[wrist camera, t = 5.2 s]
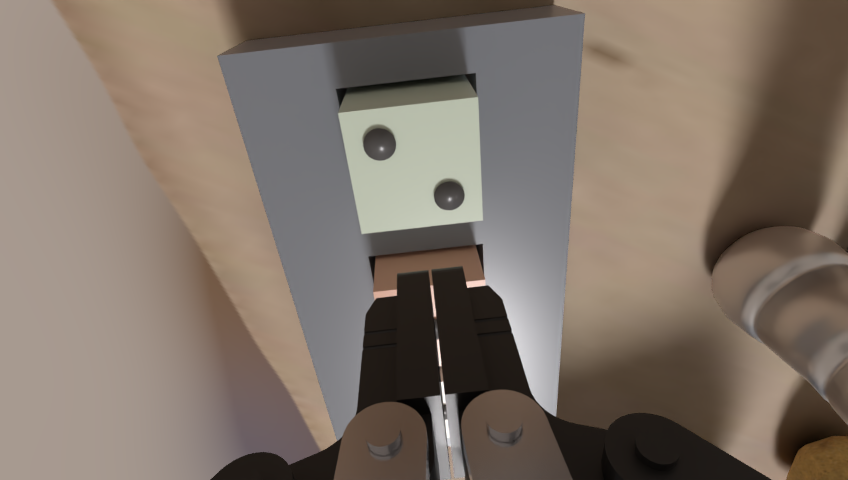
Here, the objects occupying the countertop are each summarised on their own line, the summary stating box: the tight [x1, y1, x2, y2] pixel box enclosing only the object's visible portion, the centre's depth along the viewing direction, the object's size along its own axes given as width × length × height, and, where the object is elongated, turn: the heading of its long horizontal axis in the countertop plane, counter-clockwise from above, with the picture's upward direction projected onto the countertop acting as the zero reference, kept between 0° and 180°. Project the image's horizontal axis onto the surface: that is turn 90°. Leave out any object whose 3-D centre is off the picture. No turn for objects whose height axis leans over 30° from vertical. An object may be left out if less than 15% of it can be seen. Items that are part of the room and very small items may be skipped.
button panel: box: [217, 5, 585, 446], centre depth 26 cm, size 25×14×4 cm, turn 6°
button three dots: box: [373, 245, 486, 366], centre depth 24 cm, size 5×5×5 cm
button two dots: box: [338, 74, 483, 234], centre depth 20 cm, size 5×5×5 cm
